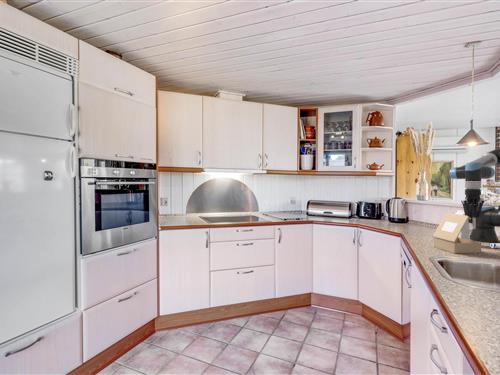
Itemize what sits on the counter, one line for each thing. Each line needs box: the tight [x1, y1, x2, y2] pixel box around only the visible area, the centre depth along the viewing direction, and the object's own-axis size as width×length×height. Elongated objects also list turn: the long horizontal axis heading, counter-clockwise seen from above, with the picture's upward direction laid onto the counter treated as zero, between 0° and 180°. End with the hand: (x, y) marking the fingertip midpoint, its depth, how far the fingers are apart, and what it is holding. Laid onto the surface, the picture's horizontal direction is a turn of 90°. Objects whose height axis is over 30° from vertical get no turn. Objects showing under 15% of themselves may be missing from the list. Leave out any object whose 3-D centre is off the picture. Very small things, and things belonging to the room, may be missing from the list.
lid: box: [432, 212, 471, 243], centre depth 168 cm, size 17×17×3 cm
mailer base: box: [433, 237, 482, 255], centre depth 168 cm, size 16×16×6 cm
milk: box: [454, 209, 470, 240], centre depth 183 cm, size 6×6×22 cm
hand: (472, 228), depth 169 cm, fingers closed
